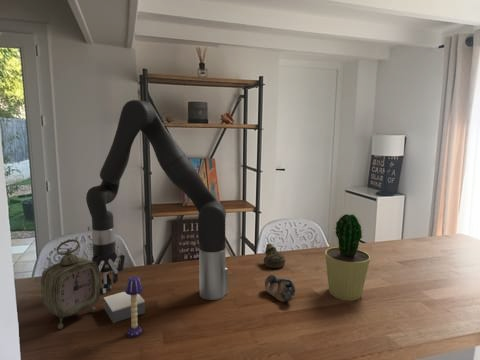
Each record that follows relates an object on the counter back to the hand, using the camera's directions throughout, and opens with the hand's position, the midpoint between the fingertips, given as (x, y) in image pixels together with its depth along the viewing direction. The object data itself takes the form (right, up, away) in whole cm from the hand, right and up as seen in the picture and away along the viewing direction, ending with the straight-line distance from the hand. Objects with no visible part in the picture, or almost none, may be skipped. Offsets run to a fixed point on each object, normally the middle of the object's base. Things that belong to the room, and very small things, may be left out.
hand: (105, 284), depth 120 cm
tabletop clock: (-3, -5, -18) cm, 18 cm away
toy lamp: (+19, -6, -25) cm, 32 cm away
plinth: (+12, -4, -13) cm, 18 cm away
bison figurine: (+62, -4, -4) cm, 63 cm away
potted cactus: (+87, -3, 0) cm, 87 cm away
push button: (0, -2, 0) cm, 2 cm away
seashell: (+64, 0, +23) cm, 68 cm away
